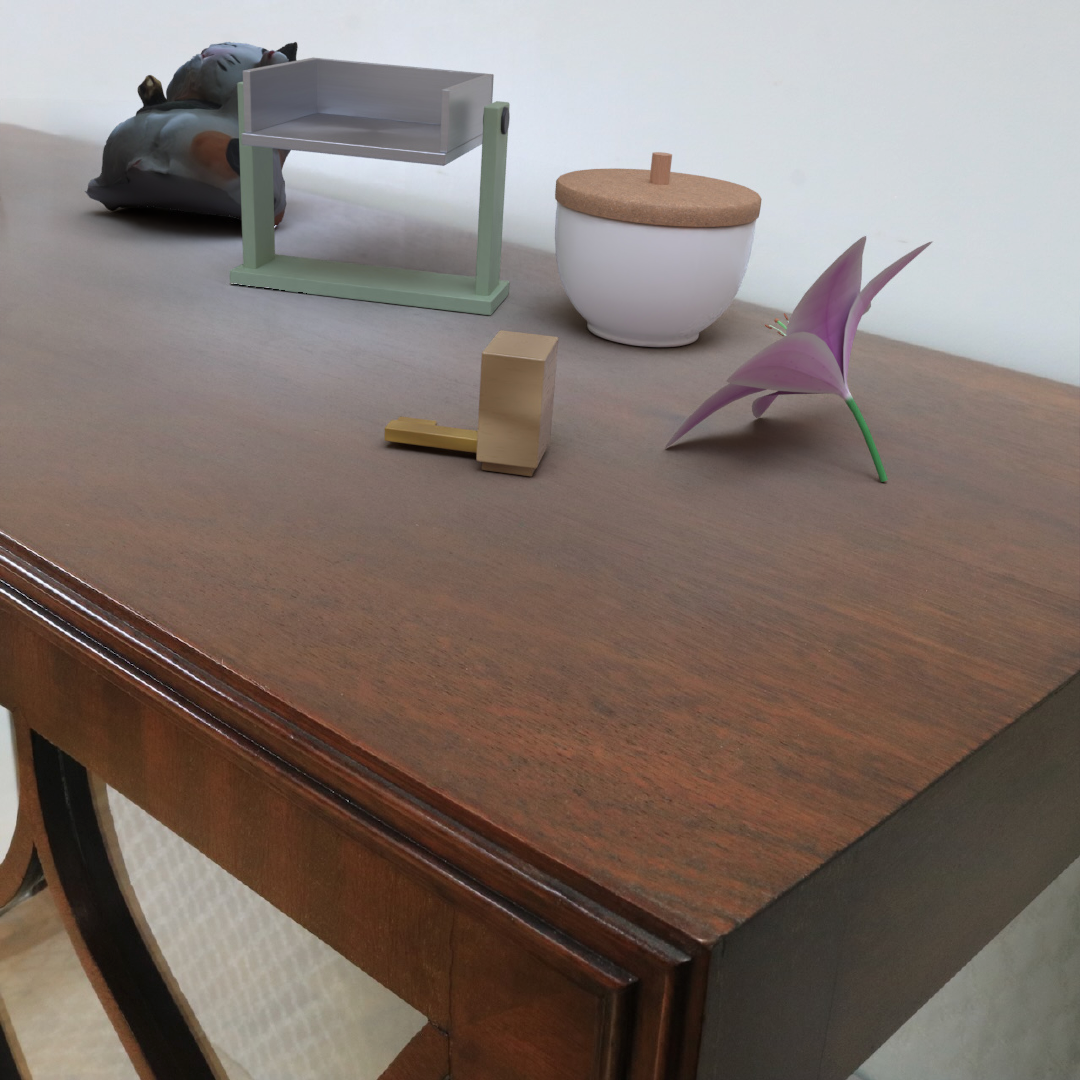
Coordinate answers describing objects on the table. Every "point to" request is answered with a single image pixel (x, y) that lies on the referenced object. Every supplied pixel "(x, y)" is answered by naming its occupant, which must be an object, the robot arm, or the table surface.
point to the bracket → (369, 279)
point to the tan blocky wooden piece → (500, 407)
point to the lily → (811, 345)
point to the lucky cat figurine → (188, 139)
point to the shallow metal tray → (366, 109)
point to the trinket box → (652, 250)
